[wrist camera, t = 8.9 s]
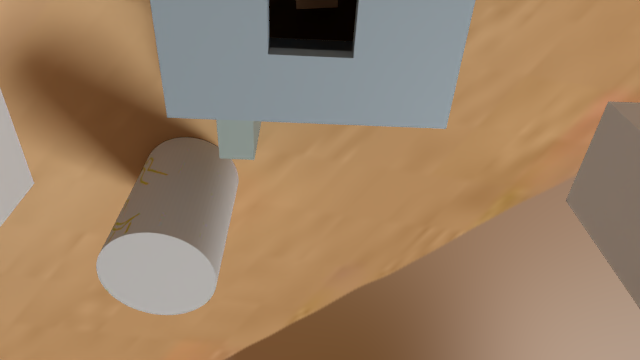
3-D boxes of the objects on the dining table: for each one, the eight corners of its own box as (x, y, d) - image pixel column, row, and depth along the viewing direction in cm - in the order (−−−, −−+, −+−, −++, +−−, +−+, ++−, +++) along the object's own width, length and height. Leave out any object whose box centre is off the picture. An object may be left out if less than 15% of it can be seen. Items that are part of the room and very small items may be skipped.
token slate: (230, 118, 40) (219, 158, 36) (226, 48, 37) (213, 81, 32) (261, 119, 41) (254, 159, 36) (260, 49, 37) (251, 83, 32)
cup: (155, 124, 41) (105, 218, 31) (249, 155, 43) (230, 252, 33) (138, 197, 45) (89, 299, 35) (224, 221, 47) (200, 325, 37)
